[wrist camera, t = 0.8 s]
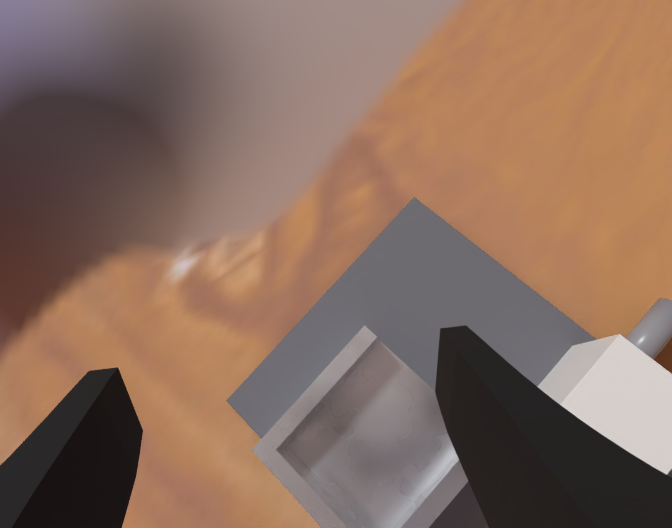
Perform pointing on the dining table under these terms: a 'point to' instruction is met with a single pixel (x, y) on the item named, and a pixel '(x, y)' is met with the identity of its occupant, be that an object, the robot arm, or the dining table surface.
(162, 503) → the dining table surface
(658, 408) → the cable plug
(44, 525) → the robot arm
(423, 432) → the end holder
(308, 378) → the mat
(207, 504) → the dining table surface
